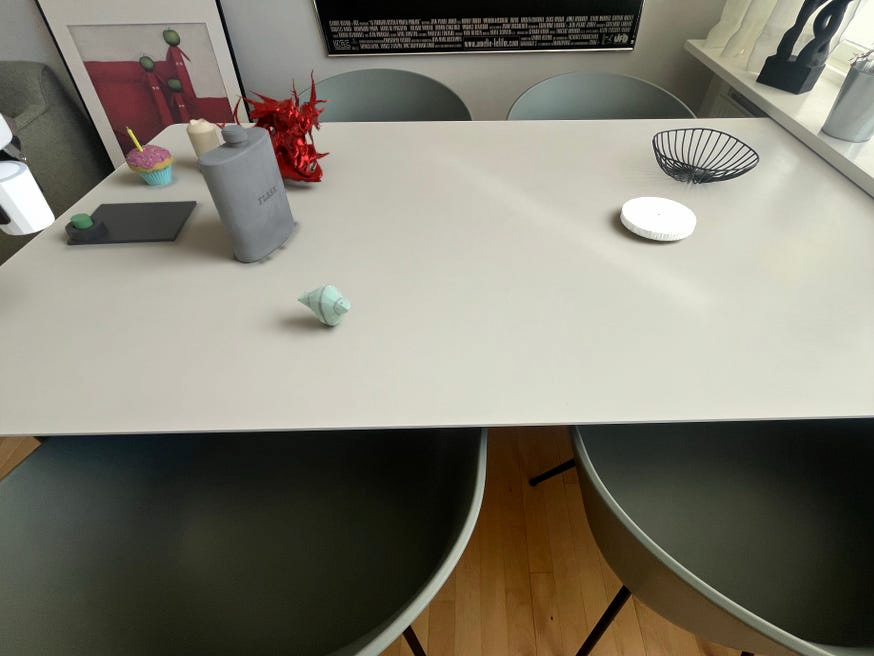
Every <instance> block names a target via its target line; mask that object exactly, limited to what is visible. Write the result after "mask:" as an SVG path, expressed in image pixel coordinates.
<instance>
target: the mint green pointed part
mask: <svg viewBox="0 0 874 656" xmlns="http://www.w3.org/2000/svg"><path fill="white" fill-rule="evenodd" d="M296 299H297V301H298V302H300V303H301V304H303V305H304V306H306V307H307V308H309V309H310V311H312V312H313V313H314V314H315V316H316V317H317V319H318V320H319V321H320V322H321V323H323V324H326V325H327V326H336V325H338V324H339V323H340V322H341V321H342V319H343V317H344V315H345V314H346V313H348V311H349V309H350V307H351V303H350V300H348V299H346V298H344V296H343V295H342V294H341V293H340V290H338V289H337V288H336V287H335V286H333V285H330V284H321V285H320V286H318V287H316V288H315V289H313V290H311V291H310V292H305V291H304V292H303V293H302V294H301V295H300V296H299V297H298V298H296Z"/></svg>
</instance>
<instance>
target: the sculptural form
mask: <svg viewBox="0 0 874 656" xmlns="http://www.w3.org/2000/svg"><path fill="white" fill-rule="evenodd" d="M313 73H314V68H313V69H312V70H311V73H310V79H311V89H310V95H309V101H303V103H302V104H301V105H300V97H298V96H297V95H298V94H297V91H296V89H295V79H294V78H292V89H293V90H291V89H290V90H289V91H290V92H292V93H290V96H293V97H294V99H295V102H294V101H293V97H290V98H286V99H283V100H277V99H275V98H271V97H268V96H265V95H263V94H259V93H257V92H255V91H251V90H249V92H251V93H252V94H253V95H255V96H257V97H259V98H260V100H262V101H263V102H259V101H256V100H253V99H250V98H246V97H243V96H240V95H239V94H236V96H237V97H238V100H237V102H236V104H235V106H234V110H233V113H232V118H231V119H232V124H234V123H235V121H236V125H240V126H242V124H241V122H240V121H239V117H238V110H239V106H240V102H241V100H245V102H246V103H248V104H249V105H252V106H253V110H249V111H248V114H250V116H249V119H250V120H257V121H256V123H254V125H252V127H260V128H264V129H266V130H268V132H269V135H270V139H271V142H272V146H273V149H274V153H275V156H276V160H277V163H278V167H279V170H280V174H281V177H282V179H286V180H292V181H293V182H295V183H299V182H300V183H301V182H304V183H321V182H322V180H321V179H322V178H323V175H324V174H323V173H324V172H323V169H322V167H321V165H320V164H319V161H318V160H321V159H323V158H325V157H327V156H328V155H330V154H331V152H324V153H321V152H320V153H319V152H318V151H317V150H316V147H315V143H314V137H313V135H312V134H313V133H312V132H313V126H314V127H315V129H316V130H317V131H318V132H319V131H320V130H321V127H322V125H320V124H321V123H323V121H319V120H318V118H319V116H320V115H321V114H322V113H323V112H324V111H325V109H326V108H327V107H326V106H324V107H322V108H321V109H320V110H319V109H318V108H317V107H316V105H318V104H320V103H324V104H325V103H327V102H330V100H329V99H318V100H317V90H316V84H315V79H314V78H313ZM227 121H228V120H227V119H225V120H224V122H223V123H222V124H219V123H217V122H215V121H213V122H212V124H213V125H216V126H217V127H218V128H219V129H220V130H222V129H223V128H224V127H226V123H227ZM248 128H251V126H249V127H248ZM307 134H308V136H309V139H310V141H311V143H308V141H307V137H306V135H307ZM311 164H312V166H311ZM310 166H311V167H310ZM309 167H310V169H309ZM314 168H315V169H314Z"/></svg>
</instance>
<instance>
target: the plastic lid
mask: <svg viewBox="0 0 874 656" xmlns="http://www.w3.org/2000/svg"><path fill="white" fill-rule="evenodd" d="M620 221H621V223H622V224H623V226H624V227H625V228H627V229H628V230H629V231H630V232H632V233H634V234H636V235H637V236H640V237H643V238H646V239H649V240H653V241H654V240H656V241H667V242H669V241H670V242H672V241H678V240H683V239H686V238H688V237H689V236H690V235H691V234H692V233H693V231H694V230H695V227H696V224H697V217H696V215H695V213H694V212H693V211H692V210H691V209H690V208H688V207H687V206H685V205H683V204H681V203H679V202H678V201H675V200H672V199H668V198H663V197H656V196H654V197H653V196H642V197H636V198H632V199H630V200H628V201H626V202H625V203H624V204H623V206H622V208H621V212H620Z"/></svg>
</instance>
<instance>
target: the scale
mask: <svg viewBox="0 0 874 656" xmlns="http://www.w3.org/2000/svg"><path fill="white" fill-rule="evenodd" d="M197 205H198V203H197V200H181V201H178V200H177V201H151V202H148V201H147V202H115V203H100V205H99V206H97V208H96V209H95V210H94V211H93V212H92V213H91V214H90V215H89V217H90V219H91V220H92V222H93V225H92V226H90V227H87V228H84V229H76V228H75V226H74V225H73V223H72V222H71V221H69V222H68V223H67V224H66V225H65V226H64V230H65V232H66V234H67V235H68V236H69V239H68V241H67V242H66V244H67V245H68V246H89V245H90V246H91V245H113V244H114V245H115V244H117V245H119V244H120V245H121V244H141V243H142V244H143V243H145V244H146V243H166V242H167V243H169V242H175V241H176V239H177V238H178V236H179V235H180V233H181V231H182V229H183V228H184V226H185V224H186V223H187V221H188V220H189V218H190V216H191V215H192V213H193V212H194V210H195V208H196V206H197Z"/></svg>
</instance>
